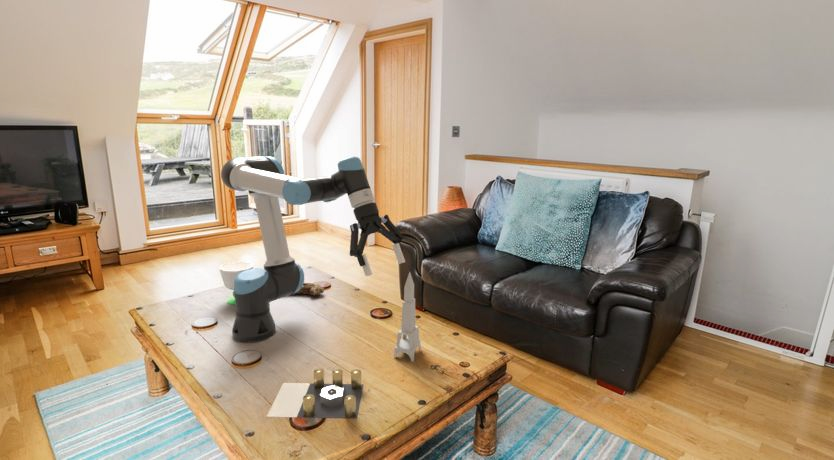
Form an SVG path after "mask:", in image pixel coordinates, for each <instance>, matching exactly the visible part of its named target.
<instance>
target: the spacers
mask: <svg viewBox="0 0 834 460" xmlns="http://www.w3.org/2000/svg"><path fill="white" fill-rule="evenodd" d="M331 373H332V374H331V375H332V376H331V377H332V378H331V379H332V384H333V385H335V386H338V387H341V388H343V384H344V378H343V377H344V372H343V370H342V369H341V368H335V369H333V370H332V372H331ZM313 383H314V388H315V389H322V388H324V384H325V370H324V368H315V369H314V370H313ZM350 384H351V388H352V389H353V390H359V389H361V384H362V370H360V369H358V368H357V369H352V370H351V371H350ZM344 404H345V417H346V418H345V419H353V417H355V416H356V397H355V396H354V395H348V396H346V397H345V398H344ZM303 412H304V416H305V417H312V416H314V415H315V396H314V395H312V394H307V395H305V396H304V397H303Z"/></svg>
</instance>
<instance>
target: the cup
mask: <svg viewBox="0 0 834 460" xmlns="http://www.w3.org/2000/svg"><path fill="white" fill-rule="evenodd" d="M249 269H254V264H253V263H252V262H249V261H241V260H240V261H232V262H225V263H223V264H221V265H220V266H219V268H218V270H219V272H220V275H221V278H222V282H223V285H224V287H225V288H226V289H228V290H232V296H233V297H232V298H231V297H230V298H229V299H228V300H227V303H228V305H230V306H231V305H232V306H236V305H235V292H234V280H235V278H236V276H237V275H238V274H240V273H241V272H243V271H246V270H249Z"/></svg>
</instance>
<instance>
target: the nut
mask: <svg viewBox="0 0 834 460" xmlns="http://www.w3.org/2000/svg"><path fill="white" fill-rule="evenodd" d="M343 397H344V389H343V388H341V387H338V386H335V385H332V386H329V387H325V388H323V389H322V391H321V394H320V403H321V404H323V405H326V406H328V407H333V406H336V405H339V404H342V401H343Z"/></svg>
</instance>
